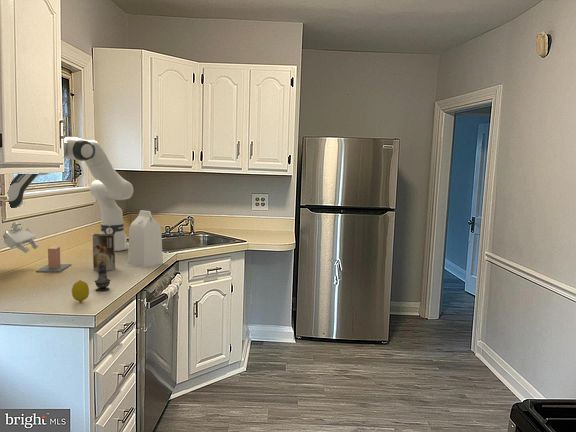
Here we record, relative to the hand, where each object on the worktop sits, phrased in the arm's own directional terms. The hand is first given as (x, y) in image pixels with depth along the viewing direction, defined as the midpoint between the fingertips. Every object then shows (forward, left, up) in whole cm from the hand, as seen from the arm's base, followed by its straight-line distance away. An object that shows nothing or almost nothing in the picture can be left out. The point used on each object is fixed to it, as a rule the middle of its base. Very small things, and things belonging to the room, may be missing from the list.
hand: (32, 249), depth 207 cm
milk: (-12, +47, -9) cm, 50 cm away
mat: (0, +9, -9) cm, 13 cm away
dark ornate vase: (+35, +40, -9) cm, 54 cm away
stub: (-1, +9, -8) cm, 12 cm away
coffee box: (0, +31, -9) cm, 32 cm away
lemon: (+51, +37, -9) cm, 63 cm away
